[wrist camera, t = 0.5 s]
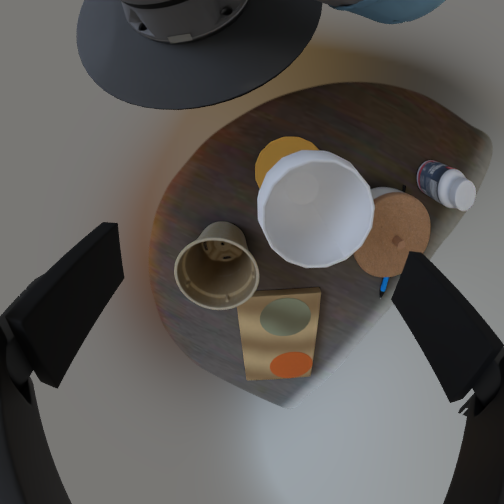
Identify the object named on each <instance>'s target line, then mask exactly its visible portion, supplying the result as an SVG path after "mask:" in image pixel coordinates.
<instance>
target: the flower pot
mask: <svg viewBox="0 0 504 504" xmlns="http://www.w3.org/2000/svg"><path fill="white" fill-rule="evenodd" d="M204 242H206V245H207V248H208V250H206V249H205V248H204V245H203V243H204ZM222 242H223V243H224V245H222V244H221V243H222ZM226 256H230V257H231V258H227V259H224V258H223V257H226ZM174 274H175V279H176V282H177V284H178V286H179V288H180V290H181V291H182V293H183V294H184V295H185V296H186V297H187V298H188V299H190V300H191V301H192V302H194V303H196V304H197V305H200V306H202V307H204V308H208V309H213V310H226V309H231V308H234V307H237V306H240V305H241V304H243V303H245V302H246V301H247V300H249V299H250V298H251V297H252V295H253V294H254V293H255V291H256V289H257V287H258V284H259V268H258V265H257V262H256V260H255V258H254V257H253V255H252V254H251V253H250V252H249V251H248V247H247V244H246V239H245V236H244V234H243V232H242V231H241V230H240V229H239V228H238V227H237V226H235V225H233V224H231V223H229V222H215V223H213V224H210V225H209V226H207V227H206V228H205V229H204V230H203V232H202V233H201V235H200V236H199V237H198V239H197V240H196V241H194V242H192V243H190V244H189V245H187V246H186V247H185V248H184V249H183V250H182V251H181V252H180V254H179V256H178V258H177V260H176V263H175V268H174Z"/></svg>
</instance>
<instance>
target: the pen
mask: <svg viewBox="0 0 504 504" xmlns="http://www.w3.org/2000/svg"><path fill="white" fill-rule="evenodd" d="M405 190H406V186H405V185H403V192H404V193H405ZM388 279H389V277H384V278H383V281H382V285H381V289H380V299H381V297H382V296H383V294H384V292H385V290H386V286H387V283H388Z"/></svg>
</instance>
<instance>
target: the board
mask: <svg viewBox="0 0 504 504" xmlns="http://www.w3.org/2000/svg"><path fill="white" fill-rule="evenodd" d="M320 299H321V291H320V288H319V287H312V288H297V289H281V290H264V291H255V293H254V294H253V295H252V297H251V298H250V299H249V300H247V301H246V302H245V303H243V304H241V305H240V306H237V310H238V318H239V326H240V334H241V342H242V349H243V357H244V364H245V372H246V379H247V380H267V379H284V378H282V377H278V376H276V375H274V374H273V373H272V372H271V370H270V363H271V362H272V360H273V359H274V358H276V357H277V356H279V355H281V354H284V353H288V352H301V353H305V354H307V355H309V356H310V357H311V359H312V362H313V356H314V349H315V342H316V334H317V326H318V318H319V309H320ZM311 369H312V367H311ZM311 369H310V370H309V371H308V372H306V373H305V374H303V375H301V376H298V377H307V376H311ZM294 378H296V377H294Z"/></svg>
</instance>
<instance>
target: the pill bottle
mask: <svg viewBox="0 0 504 504" xmlns="http://www.w3.org/2000/svg"><path fill="white" fill-rule="evenodd" d="M417 184H418V187H419V189H420V190H421V191H422V192H423V193H425V194H426V195H428V196H429V197H431V198H433V199H434V200H436V201H437V202H439V203H441V204H442V205H444V206H446V207H448V208H457V209H459V210H460V211H467V210H469V209H470V208H471V207H472V205H473V203H474V201H475V197H476V189H475V186H474V184H473V183H472V182H471V181H470V180H468V179H466V178H465V176H464V175H463V173H462V172H460V171H459V170H457V169H455V168H452V167H450V166H447V165H445V164H442V163H440V162H437V161H434V160H428V161H425V162H424V163H423V164H422V165H421V166H420V167H419V169H418V172H417Z"/></svg>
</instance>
